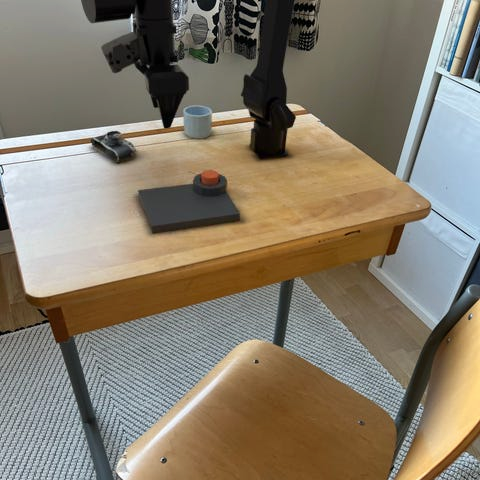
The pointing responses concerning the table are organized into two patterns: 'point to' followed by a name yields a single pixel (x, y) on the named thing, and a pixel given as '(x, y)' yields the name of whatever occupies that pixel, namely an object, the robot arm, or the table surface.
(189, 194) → the grey base plate
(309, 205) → the table surface
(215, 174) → the button
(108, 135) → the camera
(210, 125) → the cup
